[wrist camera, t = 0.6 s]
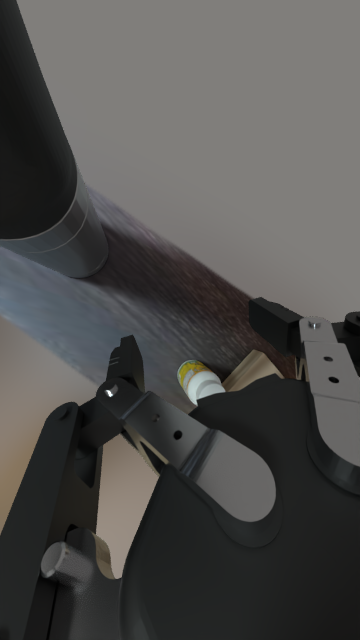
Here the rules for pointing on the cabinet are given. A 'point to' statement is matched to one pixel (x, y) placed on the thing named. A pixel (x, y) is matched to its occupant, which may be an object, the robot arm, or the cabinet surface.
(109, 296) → the cabinet surface
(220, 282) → the cabinet surface
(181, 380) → the supplement bottle
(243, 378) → the birch base
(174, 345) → the cabinet surface
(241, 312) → the cabinet surface
